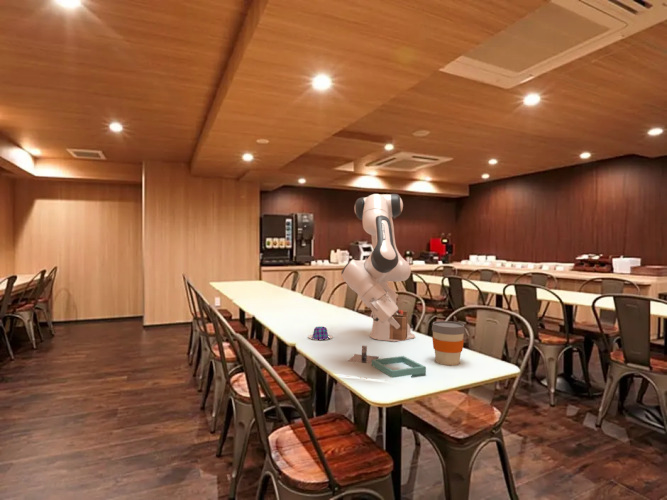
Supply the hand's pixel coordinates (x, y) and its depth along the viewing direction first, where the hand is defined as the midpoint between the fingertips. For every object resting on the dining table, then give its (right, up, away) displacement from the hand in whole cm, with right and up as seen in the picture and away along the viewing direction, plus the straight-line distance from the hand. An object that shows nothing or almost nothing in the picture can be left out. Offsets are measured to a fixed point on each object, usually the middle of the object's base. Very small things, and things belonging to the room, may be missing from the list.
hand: (400, 325), depth 141 cm
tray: (-1, -17, +1) cm, 17 cm away
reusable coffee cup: (+21, -17, +13) cm, 30 cm away
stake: (-12, -16, +12) cm, 24 cm away
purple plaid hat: (-31, -16, +49) cm, 60 cm away
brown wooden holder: (-1, -5, 0) cm, 5 cm away
